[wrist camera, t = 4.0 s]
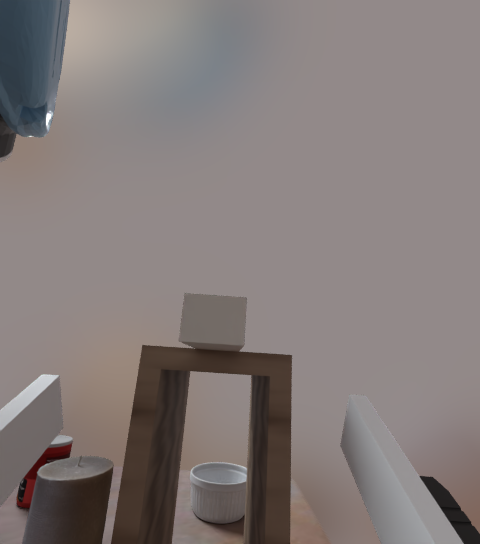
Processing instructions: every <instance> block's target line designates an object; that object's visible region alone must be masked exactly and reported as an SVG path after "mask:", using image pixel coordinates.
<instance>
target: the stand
mask: <svg viewBox="0 0 480 544" xmlns="http://www.w3.org/2000/svg"><path fill="white" fill-rule="evenodd" d="M291 366H292V355H283V354H267V353H252V352H237V351H222V350H207V349H191V348H177V347H162V346H146V345H143V346H142V352H141V358H140V364H139V371H138V377H137V383H136V389H135V396H134V402H133V409H132V415H131V421H130V427H129V434H128V440H127V446H126V453H125V459H124V466H123V472H122V478H121V484H120V491H119V497H118V503H117V510H116V516H115V522H114V529H113V535H112V541H111V544H172V535H173V526H174V516H175V507H176V498H177V489H178V479H179V470H180V461H181V451H182V441H183V433H184V424H185V414H186V405H187V396H188V387H189V377H190V371H197V372H213V373H228V374H243V375H244V374H245V375H251V396H250V417H249V437H248V458H247V460H248V461H247V479H246V500H245V520H244V541H243V544H290V488H291V379H292V378H291V377H292V376H291V375H292V373H291V371H292V367H291Z"/></svg>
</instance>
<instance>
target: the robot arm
mask: <svg viewBox="0 0 480 544" xmlns="http://www.w3.org/2000/svg"><path fill="white" fill-rule="evenodd" d="M69 4H70V0H0V162H2V161H5V160H6V159H8V158H9V157H10V155H11V153H12V150H13V146H14V142H15V138H16V134H19V135H21V136H23V137H30V136H34V137H44V136H46V135H47V134H48V132H49V130H50V125H51V123H52V119H53V114H54V109H55V101H56V96H57V90H58V83H59V80H60V74H61V68H62V60H63V53H64V46H65V38H66V30H67V22H68V14H69ZM62 429H63V417H62V403H61V389H60V376H58V375H44V374H42V375H41V376H40V377H39V378H38V379H36V380H35V381H34V382H33V383H32V384H30V385H29V386H28V387H27V388H26V389H25V390H24V391H22V392H21V393H20V394H19V395H18V396H17V397H15V398H14V399H13V400H12V401H10V402H9V403H8V404H7V405H6V406H5V407H3V408H2V409H1V410H0V507H1V505H2V504H3V503H4V502H5V500H6V499H7V498H8V497H9V495H10V494H11V493H12V492H13V490H14V489H15V488H16V487H17V485H18V484H19V483H20V482H21V480H22V479H23V478H24V477H25V475H26V474H27V473H28V472H29V470H30V469H31V468H32V467H33V465H34V464H35V463H36V462H37V460H38V459H39V458H40V456H41V455H42V454H43V453H44V451H45V450H46V449H47V448H48V446H49V445H50V444H51V443H52V441H53V440H54V439H55V438H56V436H57V435H58V434H59V433H60V431H61V430H62ZM341 448H342V450H343V453H344V455H345V458H346V460H347V462H348V465H349V467H350V470H351V472H352V474H353V477H354V479H355V482H356V484H357V487H358V489H359V491H360V494H361V496H362V499H363V501H364V503H365V506H366V508H367V511H368V513H369V515H370V518H371V520H372V522H373V525H374V527H375V530H376V532H377V535H378V537H379V539H380V542H381V544H480V534H479V533H478V531H477V530H476V528H475V527H474V526H472V524H471V521H470V520H469V519H468V517H467V516H466V515H465V513H464V512H463V511H461V508H460V506H459V505H458V504H457V502H456V501H455V500H454V498H453V497H452V496H451V494H450V493H449V491H448V490H447V489H445V488H444V487H443V486H442V485H441V484H440V483H439V482H438V481H437V480H435V479H434V478H433V477H425V476H419V475H418V474H417V472H416V471H415V469H414V468H413V466H412V465H411V463H410V462H409V460H408V458H407V457H406V455H405V454H404V452H403V451H402V449H401V448H400V447H399V445H398V443H397V442H396V440H395V439H394V437H393V436H392V434H391V433H390V431H389V430H388V428H387V427H386V426H385V424H384V422H383V421H382V419H381V418H380V416H379V415H378V413H377V412H376V410H375V409H374V407H373V405H372V404H371V402H370V401H369V399H368V398H367V396H364V395H349V400H348V405H347V411H346V416H345V422H344V429H343V434H342V439H341Z"/></svg>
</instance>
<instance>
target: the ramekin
mask: <svg viewBox="0 0 480 544" xmlns="http://www.w3.org/2000/svg"><path fill="white" fill-rule="evenodd" d="M246 479H247V468H245V467H242V466H239V465H236V464H231V463H222V462H212V463H204V464H200V465H197V466H195V467H194V468H192V470H191V473H190V480H191V507H192V510H193V511H194V513H195V515H196V516H197V517H199V518H200V519H202V520H204V521H207V522H211V523H220V524H224V523H232V522H235V521H237V520H239V519H241V518H242V517H243V516H244V514H245V500H246Z"/></svg>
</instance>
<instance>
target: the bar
mask: <svg viewBox="0 0 480 544" xmlns="http://www.w3.org/2000/svg"><path fill="white" fill-rule="evenodd" d="M246 304H247V298H246V297H245V298H244V297H231V296H217V295H203V294H189V293H185V294H184V302H183V310H182V319H181V327H180V335H179V342H182V343H184V344H187V345H189V346H191V347H193V348H195V349H207V350H222V351H237V352H239V351H240V349H242V347H243V346H244V341H245V339H244V338H245V323H246Z"/></svg>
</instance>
